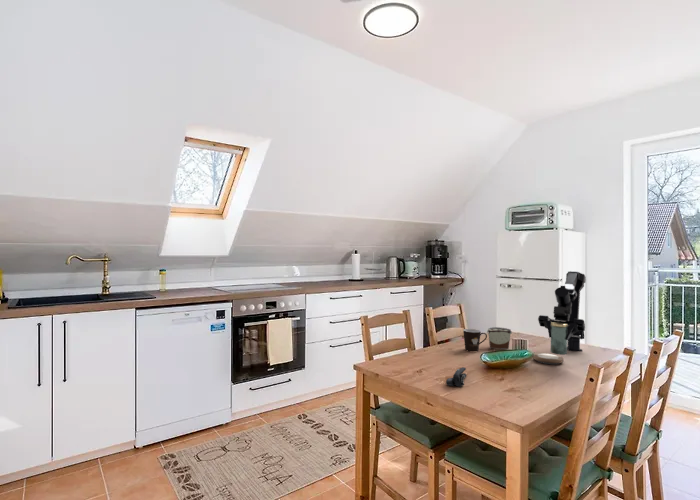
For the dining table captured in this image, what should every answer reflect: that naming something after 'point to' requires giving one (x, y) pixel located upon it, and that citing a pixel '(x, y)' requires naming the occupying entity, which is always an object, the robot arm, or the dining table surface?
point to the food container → (499, 337)
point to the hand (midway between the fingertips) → (558, 338)
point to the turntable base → (547, 363)
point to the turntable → (548, 358)
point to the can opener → (457, 378)
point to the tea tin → (558, 338)
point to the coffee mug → (472, 339)
